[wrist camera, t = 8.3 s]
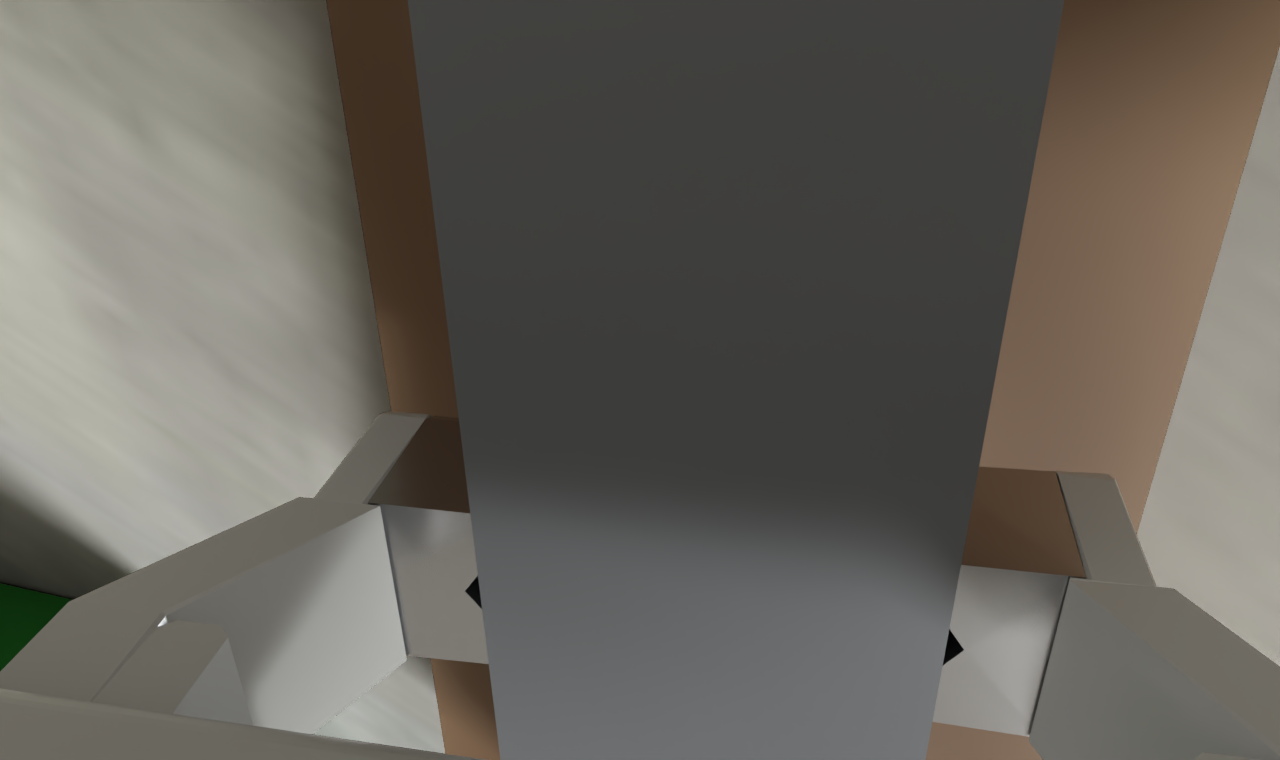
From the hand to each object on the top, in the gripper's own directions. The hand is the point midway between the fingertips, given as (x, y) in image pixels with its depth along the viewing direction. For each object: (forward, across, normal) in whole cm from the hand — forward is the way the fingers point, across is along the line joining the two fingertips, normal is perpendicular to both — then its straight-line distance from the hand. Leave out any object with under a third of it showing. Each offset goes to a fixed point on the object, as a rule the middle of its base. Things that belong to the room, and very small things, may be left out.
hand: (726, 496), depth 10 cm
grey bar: (+3, 0, 0) cm, 3 cm away
